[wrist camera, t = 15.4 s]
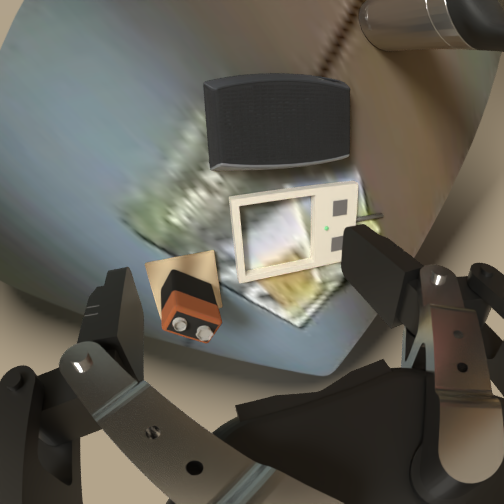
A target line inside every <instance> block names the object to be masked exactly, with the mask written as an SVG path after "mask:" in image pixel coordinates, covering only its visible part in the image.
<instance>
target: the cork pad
mask: <svg viewBox="0 0 504 504" xmlns="http://www.w3.org/2000/svg"><path fill="white" fill-rule="evenodd" d="M145 267H146V270H147V274H148V278H149V281H150V285H151V288H152V292H153V295H154V298H155V302H156V305H157V308H158V311H159V315H160V318H161V288H162V286H163V284H164V283H165V281H166V279H167V277H168V275H169V273H170V271H171V270H172V269H174V270H177V271H180V272H182V273H185V274H187V275H190V276H192V277H195V278H197V279H200V280H202V281H205V282H207V283H210V284H211V285H212V287H213V291H214V295H215V298H216V302H217V305H218V308H221V307H222V301H221V294H220V288H219V282H218V275H217V268H216V262H215V255H214V250H211V251H205V252H200V253H195V254H189V255H184V256H179V257H173V258H168V259H163V260H158V261H152V262H147V263H145ZM161 319H162V318H161Z"/></svg>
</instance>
